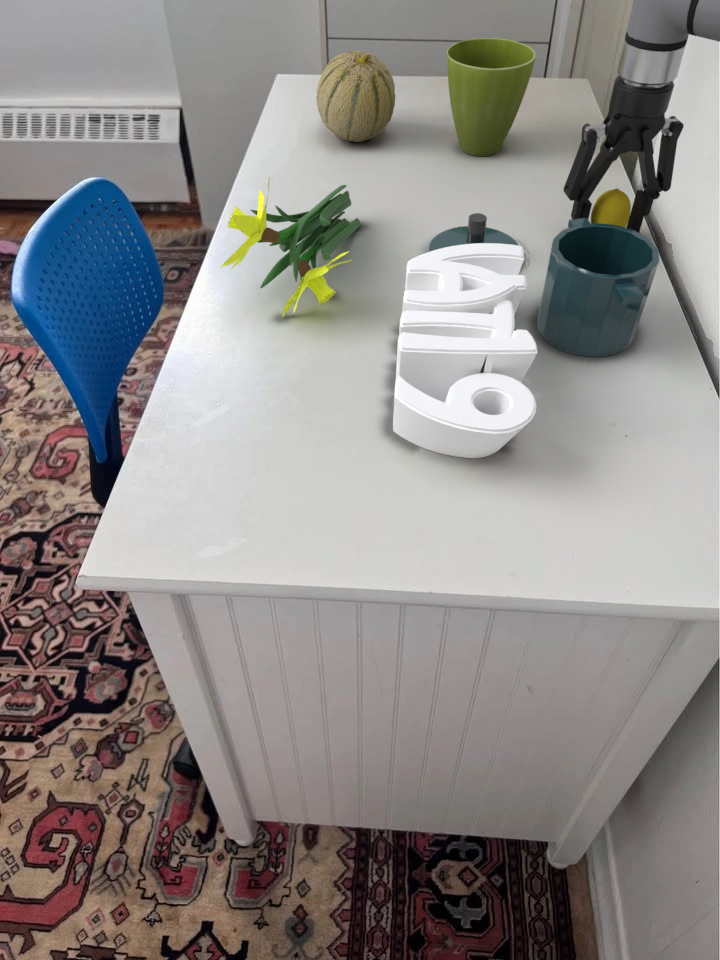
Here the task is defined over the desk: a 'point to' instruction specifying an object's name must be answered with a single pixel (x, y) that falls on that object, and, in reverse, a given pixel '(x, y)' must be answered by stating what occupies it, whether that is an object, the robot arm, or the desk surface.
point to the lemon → (612, 208)
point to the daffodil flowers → (308, 224)
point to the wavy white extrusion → (463, 351)
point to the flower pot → (487, 90)
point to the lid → (470, 234)
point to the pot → (596, 288)
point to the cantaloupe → (356, 96)
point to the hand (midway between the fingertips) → (604, 237)
